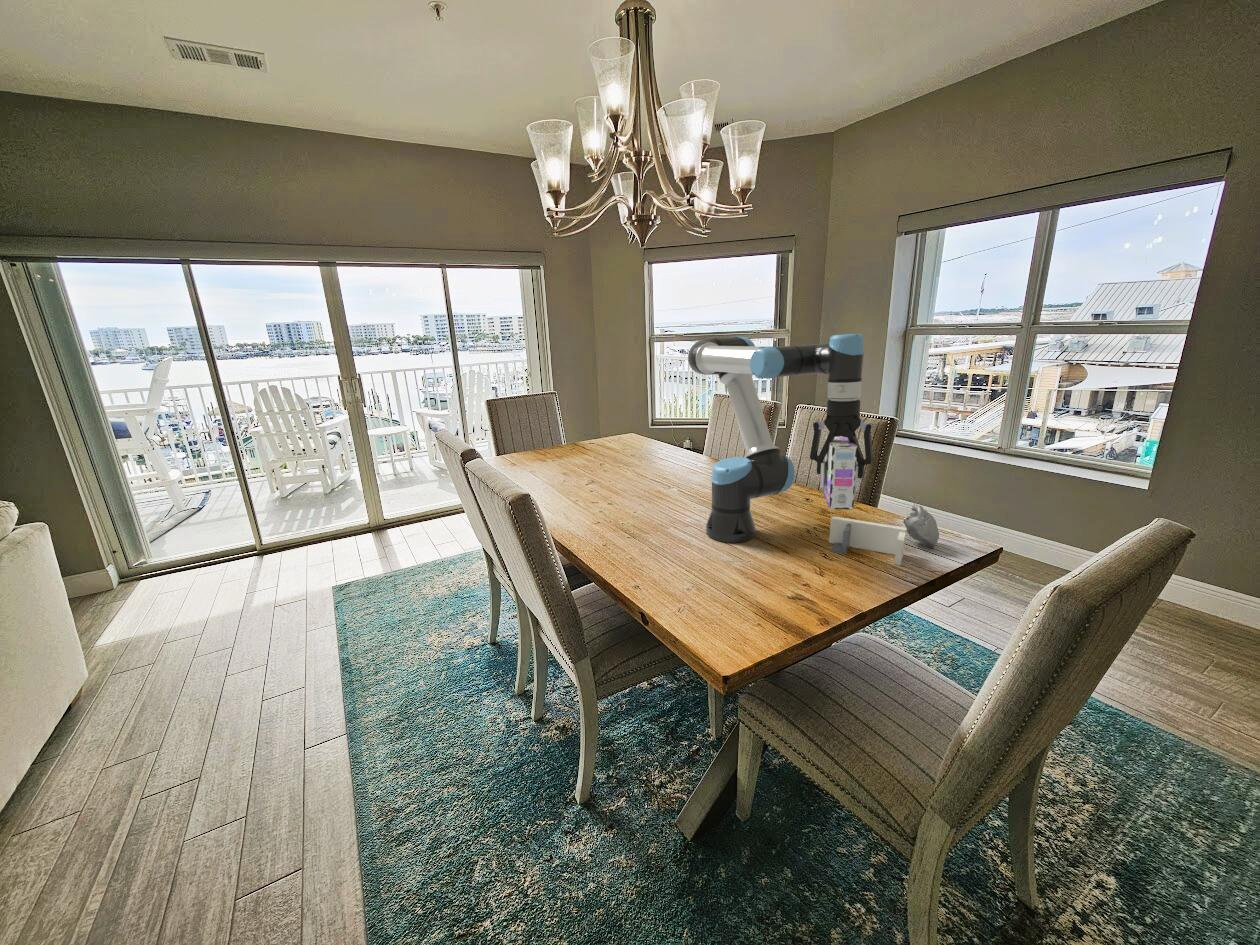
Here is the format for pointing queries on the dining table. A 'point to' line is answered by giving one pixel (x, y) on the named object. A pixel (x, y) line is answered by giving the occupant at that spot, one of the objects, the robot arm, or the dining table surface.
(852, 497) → the candy box
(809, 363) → the robot arm
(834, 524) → the shelf
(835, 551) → the bookend
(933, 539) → the heart
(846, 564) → the dining table surface
